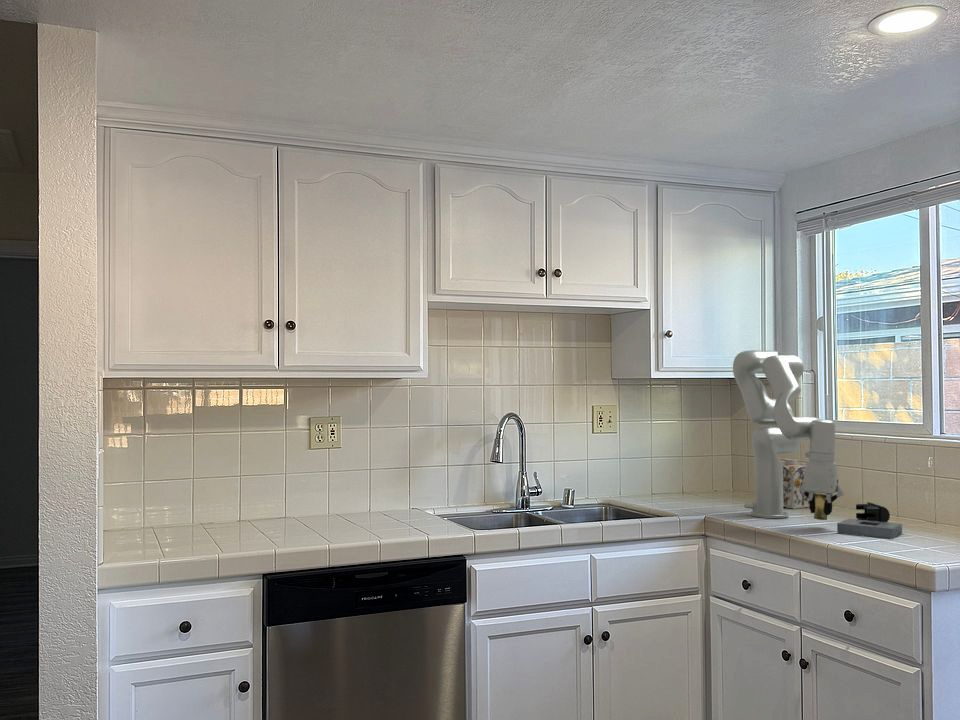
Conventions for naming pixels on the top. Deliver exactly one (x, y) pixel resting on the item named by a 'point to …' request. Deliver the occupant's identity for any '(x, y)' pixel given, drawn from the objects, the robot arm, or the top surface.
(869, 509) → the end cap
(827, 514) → the robot arm
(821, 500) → the beige cylinder
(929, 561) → the top surface
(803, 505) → the decorative jar
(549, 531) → the top surface
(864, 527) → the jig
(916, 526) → the top surface
